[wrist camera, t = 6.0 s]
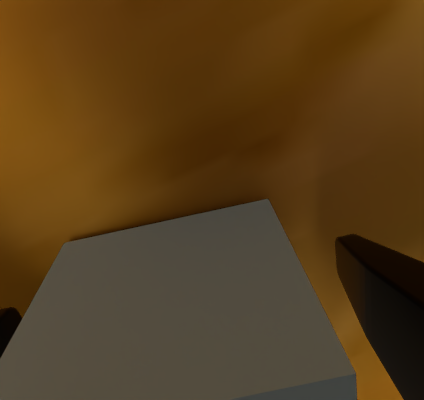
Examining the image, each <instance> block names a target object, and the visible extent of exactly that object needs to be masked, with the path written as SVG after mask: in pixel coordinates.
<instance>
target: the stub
mask: <svg viewBox="0 0 424 400" xmlns="http://www.w3.org/2000/svg"><path fill="white" fill-rule="evenodd" d="M0 400H357V389H356V373H355V371H354V369H353V367H352V365H351V363H350V361H349V359H348V357H347V355H346V353H345V351H344V349H343V347H342V345H341V343H340V341H339V339H338V337H337V335H336V333H335V331H334V329H333V327H332V325H331V323H330V321H329V319H328V317H327V315H326V313H325V311H324V309H323V307H322V305H321V303H320V301H319V299H318V297H317V295H316V293H315V291H314V289H313V287H312V285H311V283H310V281H309V279H308V277H307V275H306V273H305V271H304V269H303V267H302V265H301V263H300V261H299V259H298V257H297V255H296V253H295V251H294V249H293V247H292V245H291V243H290V241H289V239H288V237H287V235H286V233H285V231H284V229H283V227H282V225H281V223H280V221H279V219H278V217H277V215H276V213H275V211H274V209H273V207H272V205H271V203H270V201H269V199H264V200H260V201H255V202H250V203H246V204H241V205H237V206H232V207H227V208H223V209H218V210H214V211H209V212H204V213H200V214H195V215H191V216H186V217H181V218H177V219H172V220H167V221H163V222H158V223H154V224H149V225H144V226H140V227H135V228H131V229H126V230H121V231H117V232H112V233H108V234H103V235H98V236H94V237H89V238H85V239H80V240H75V241H71V242H66V243H64V244H63V246H62V248H61V250H60V252H59V253H58V255H57V257H56V259H55V261H54V262H53V264H52V266H51V268H50V270H49V271H48V273H47V275H46V277H45V279H44V280H43V282H42V284H41V286H40V288H39V290H38V291H37V293H36V295H35V297H34V299H33V300H32V302H31V304H30V306H29V308H28V309H27V311H26V313H25V315H24V317H23V318H22V320H21V322H20V324H19V326H18V327H17V329H16V331H15V333H14V335H13V337H12V338H11V340H10V342H9V344H8V346H7V347H6V349H5V351H4V353H3V355H2V356H1V358H0Z"/></svg>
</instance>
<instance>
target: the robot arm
mask: <svg viewBox="0 0 424 400" xmlns="http://www.w3.org/2000/svg"><path fill="white" fill-rule="evenodd" d="M335 251H336V267H337V272H338V275H339V278H340V280H341V282H342V285H343V287H344V289H345V291H346V293H347V296H348V298H349V300H350V302H351V304H352V307H353V309H354V311H355V313H356V316H357V318H358V320H359V322H360V324H361V327H362V329H363V331H364V333H365V335H366V337H367V339H368V340H369V342H370V344H371V346H372V347H373V349H374V351H375V352H376V354H377V356H378V357H379V359H380V361H381V363H382V364H383V366H384V368H385V369H386V371H387V373H388V374H389V376H390V378H391V379H392V381H393V383H394V384H395V386H396V388H397V389H398V391H399V393H400V394H401V396H402V398H403V399H404V400H424V263H423V262H421V261H418V260H416V259H414V258H411V257H409V256H406V255H404V254H402V253H399V252H397V251H394V250H392V249H390V248H387V247H385V246H382V245H380V244H378V243H375V242H373V241H370V240H368V239H365V238H363V237H361V236H358V235H356V234H350V235H345V236H341V237H337V238H336V241H335ZM21 320H22V317H21V315H20V314H19V312H18V311H17V309H15V308H13V307H9V308H4V309H0V358H1V356H2V355H3V353H4V351H5V349H6V347H7V346H8V344H9V342H10V340H11V338H12V337H13V335H14V333H15V331H16V329H17V327H18V326H19V324H20V322H21Z"/></svg>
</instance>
